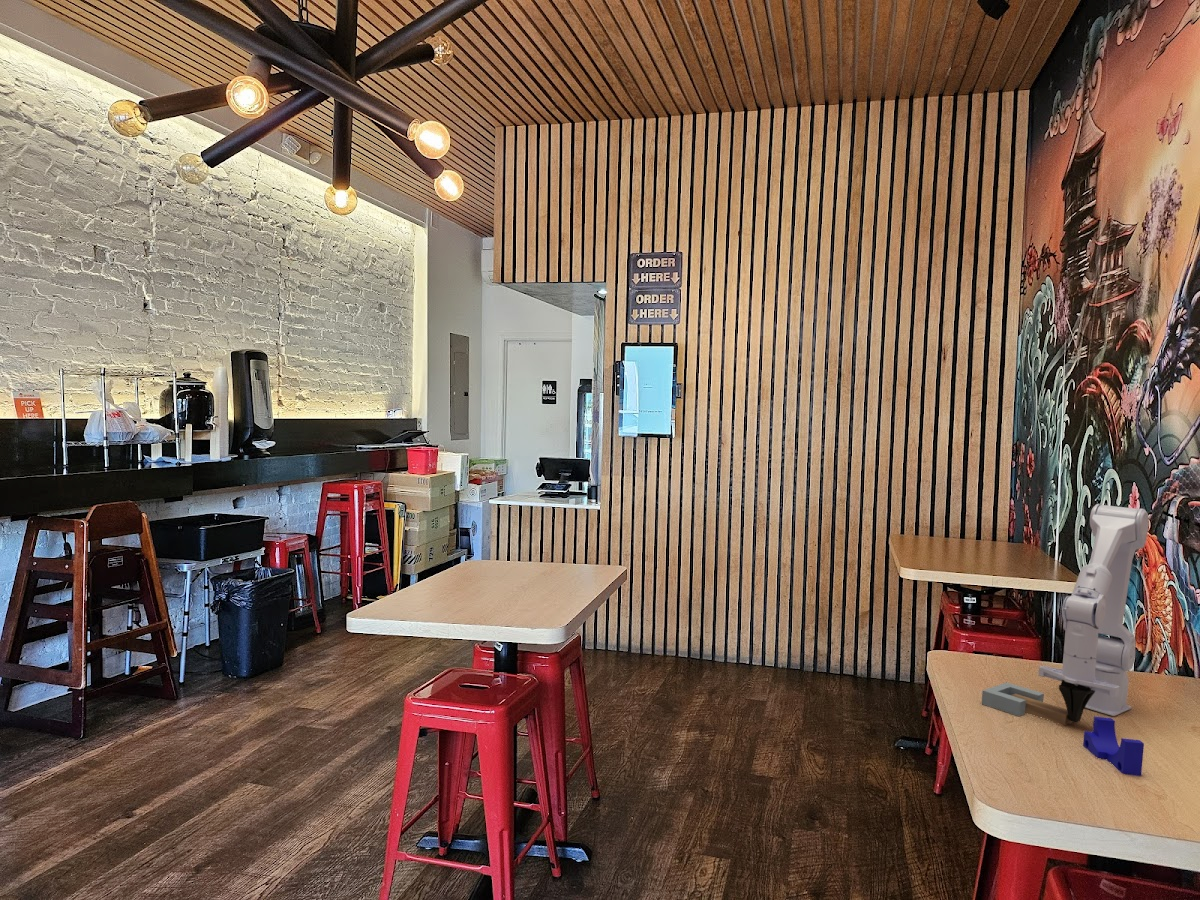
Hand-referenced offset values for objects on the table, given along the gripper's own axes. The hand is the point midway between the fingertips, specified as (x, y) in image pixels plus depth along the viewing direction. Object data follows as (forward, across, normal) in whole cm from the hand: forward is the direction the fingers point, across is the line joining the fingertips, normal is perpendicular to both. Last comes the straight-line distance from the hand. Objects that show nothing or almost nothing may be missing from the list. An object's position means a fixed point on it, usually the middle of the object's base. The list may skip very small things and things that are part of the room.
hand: (1074, 720), depth 165 cm
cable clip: (+1, +11, -12) cm, 17 cm away
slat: (+1, -7, 0) cm, 7 cm away
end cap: (+1, -12, 0) cm, 13 cm away
